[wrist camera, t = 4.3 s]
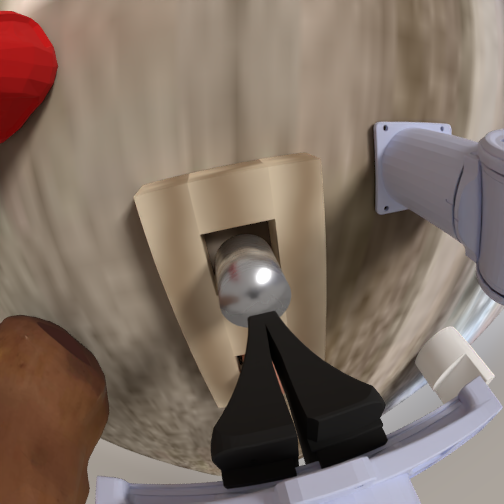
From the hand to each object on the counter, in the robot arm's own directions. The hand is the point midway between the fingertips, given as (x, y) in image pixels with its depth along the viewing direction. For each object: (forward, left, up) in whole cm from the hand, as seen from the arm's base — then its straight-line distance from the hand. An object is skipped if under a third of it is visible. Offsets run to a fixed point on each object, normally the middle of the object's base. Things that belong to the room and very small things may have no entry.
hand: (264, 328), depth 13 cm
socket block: (0, +6, -10) cm, 12 cm away
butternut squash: (+21, +7, -10) cm, 24 cm away
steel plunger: (0, 0, -7) cm, 7 cm away
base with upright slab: (-28, +26, -10) cm, 39 cm away
